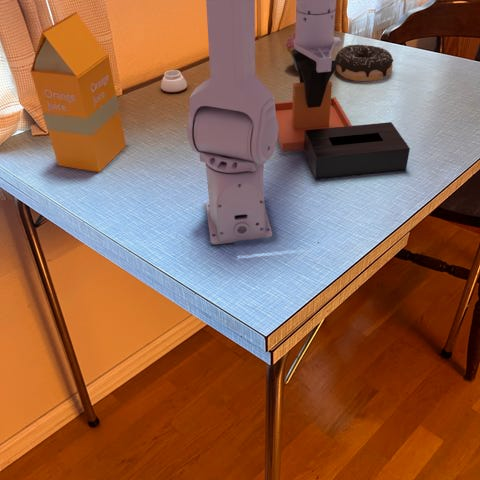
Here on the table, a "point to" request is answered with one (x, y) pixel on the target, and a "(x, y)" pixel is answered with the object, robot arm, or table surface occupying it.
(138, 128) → the table surface
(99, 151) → the orange juice
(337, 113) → the red tray
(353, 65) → the donut
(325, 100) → the toast
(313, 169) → the toaster
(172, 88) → the lidless jar
